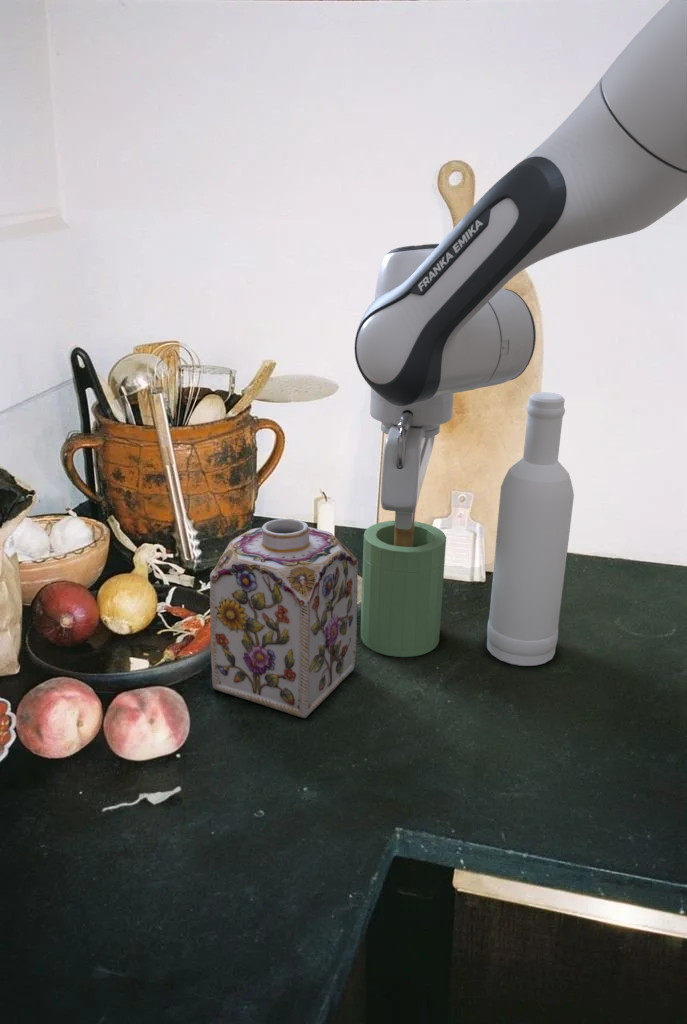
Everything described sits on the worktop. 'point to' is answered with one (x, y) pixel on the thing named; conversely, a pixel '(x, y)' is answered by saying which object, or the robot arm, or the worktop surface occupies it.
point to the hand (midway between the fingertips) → (405, 521)
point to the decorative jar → (283, 616)
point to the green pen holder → (402, 590)
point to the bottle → (531, 542)
